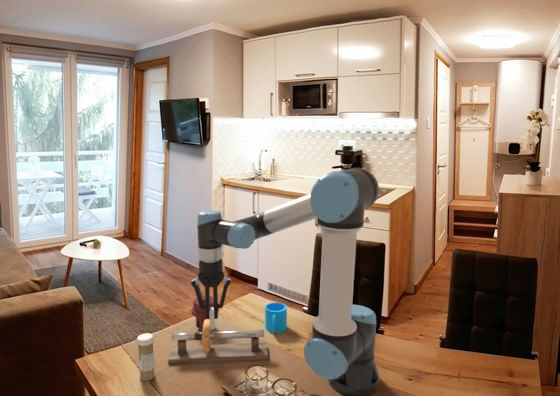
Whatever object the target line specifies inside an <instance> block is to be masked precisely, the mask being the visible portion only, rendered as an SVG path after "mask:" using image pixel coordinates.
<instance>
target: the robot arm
mask: <svg viewBox="0 0 560 396" xmlns="http://www.w3.org/2000/svg"><path fill="white" fill-rule="evenodd" d="M379 186H380V185H379V182H378V179H377V178H376V177H375V176H374V174H373V173H372V172H371V171H369V170H368V169H365V168H362V167H361V168H360V167H352V168H348V169H343V170H336V171H331V172H329V173H326V174H325V175H323V176H320V177H319V179H317V180H316V181H315V182H314V184H313V186H312V188H311V190H310V193H309V194H306V195H304V196H300V197H298V198H295V199H293V200H290V201H287V202H285V203H282V204H281V205H277V206H275V207H273V208H270V209H267V210H265V211H262V212H259V213H257V214H255V215H252V216H251V215H250V216H248V217H244V218H241V219H238V220H227V219H223V217H222V213H221V211H219V210H216V209H215V210H213V209H210V210H202V211H200V212H198V213H197V221H196V222H197V224H196V226H197V245H198V246H197V249H198V250H197V252H198V253H197V254H198V259H199V260H198V274H197V276H196V277H195V278H192V279H191V281H190V285H191V286H192V288H194V292H195V295H196V298H197V299H198V302H199V306H200V308H201V309H205V310H206V319H210V330H211V331H212V330H215V328H216V320H218V318H219V312H218V309H223V308H224V305H225V301H226V300H225V299H226V296H227V292H228V288H229V286H230V285H231V282H232V278H231V277H227V276H225V273H224V271H223V270H224V269H223V245H224V246H228V247H233V248H234V249H245V250H246V249H249V248H251V246H252V244H254V242H255V240H258V239H261V238H263V237H267V236H270V235H273V234H275V233H278V232H280V231H281V232H282V231H283V230H287V229H289V228H293V227H296V226H298V225H301V224H304V223H308V222H310V221H312V220H315V219H316V224H317V226H318V227H319V228H320V229H321V230H322V242H321V260H320V261H321V263H320V280H319V281H320V284H319V303H318V315H317V316H316V317H314V319H313V321H312V326H311V327H312V329H311V330H312V332H311V333H312V334H311V338H310V339H309V340H307V341H306V343H305V345H304V348H303V356H304V358H305V359H304V360H305V362H306V363H307V365H308V367H309V368H311V370H312V372H313V373H315V374H316V375H318V376H319V377H321V378H323V379H327V380H328V383H329V385H330V386H331V387H332V388H333V389H334V390H335V391H336V392H339V393H340V394H343V395H347V396H369V395H372V394H373V393H375V392H376V391H377V390H378V389H379V387H380V380H381V379H380V372H379V369H378V367H377V363H376V361H375V360H376V359H375V352H376V351H375V350H376V334H377V333H376V329H377V323H378V322H377V315H376V313H375V311H373V310H372V309H371V308H369V307H366V306H364V305H358V304H353V299H354V298H353V296H354V282H355V281H354V280H355V266H356V253H357V252H356V249H357V235H358V234H357V233H358V232H359V231H360V230H361V229H363V227H364V220H365V211H366V210H368V209H371V208H372V206H373V205H374V204H375V203H376V201H377V199H378V197H379V193H380V187H379ZM221 282H222V283H223V288H222V292H221V297H220V300H219V299H218V298H219V297H218V296H219V295H218V294H219V293H218V286H220V284H221ZM200 283H201V284H202V285H203V287H204V291H205V292H204V296H205V301H206V304H205V303H204V300H203V297H202V296H203V294H202V291H201V288H200V287H201V286H200ZM210 288H212V291H213V293H212V294H213V295H212V297H213V298H214V307H210V296H211V294H210V293H211V292H210V290H211V289H210Z"/></svg>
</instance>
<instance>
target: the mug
mask: <svg viewBox="0 0 560 396" xmlns="http://www.w3.org/2000/svg"><path fill="white" fill-rule="evenodd" d="M287 308H288V306H287V305H286V304H285V303H281V302H270V303H267V304H265V307H264V315H265V316H264V320H265V321H264V322H265V323H264V327H265V329H264V330H266V331H268V332H269V333H274V334H275V333H283V332H285V330H287V328H288V327H287V325H288V324H287V323H288V321H287V319H288V309H287Z"/></svg>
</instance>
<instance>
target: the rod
mask: <svg viewBox="0 0 560 396" xmlns="http://www.w3.org/2000/svg"><path fill="white" fill-rule="evenodd" d="M251 338H265V329H252V330H251V329H249V330H226V331H225V330H223V331H211V332H210V340H211V341H212V340H233V339H251ZM171 341H172V342H178V341H186V342H187V341H202V332H199V331H197V332H177V333H176V332H175V333H172V335H171Z"/></svg>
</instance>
